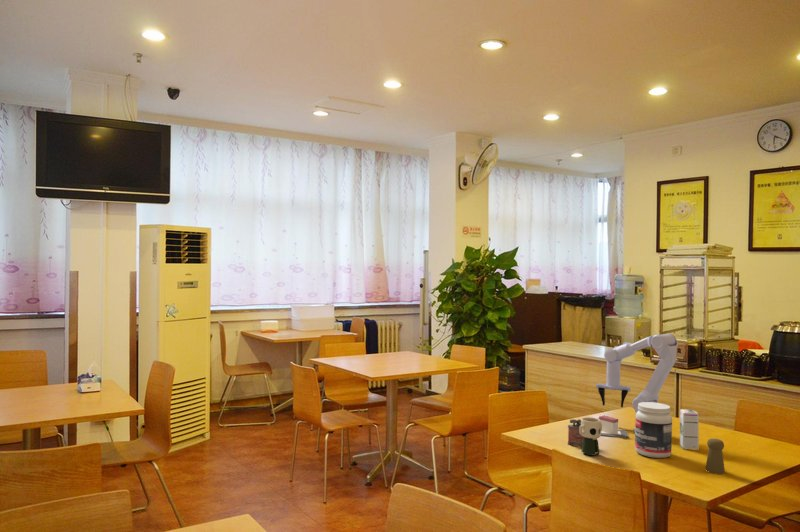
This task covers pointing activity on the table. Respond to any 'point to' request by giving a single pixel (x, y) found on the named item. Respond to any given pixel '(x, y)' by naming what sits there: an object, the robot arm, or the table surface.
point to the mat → (620, 434)
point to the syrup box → (689, 429)
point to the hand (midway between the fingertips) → (612, 406)
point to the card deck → (609, 424)
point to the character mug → (590, 434)
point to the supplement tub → (653, 430)
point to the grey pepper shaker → (715, 456)
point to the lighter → (575, 433)
